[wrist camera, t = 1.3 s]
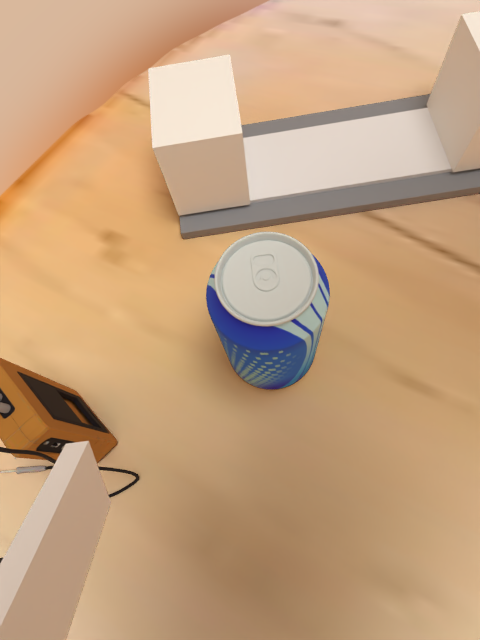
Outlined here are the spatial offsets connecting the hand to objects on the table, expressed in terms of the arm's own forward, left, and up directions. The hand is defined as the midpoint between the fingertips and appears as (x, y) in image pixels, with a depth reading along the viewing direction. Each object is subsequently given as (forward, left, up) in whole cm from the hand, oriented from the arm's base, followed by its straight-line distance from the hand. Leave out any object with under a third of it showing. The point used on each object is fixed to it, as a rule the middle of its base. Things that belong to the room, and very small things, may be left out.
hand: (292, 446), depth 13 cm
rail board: (+6, -34, -25) cm, 42 cm away
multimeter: (+20, +7, -25) cm, 33 cm away
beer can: (+5, -10, -25) cm, 27 cm away
